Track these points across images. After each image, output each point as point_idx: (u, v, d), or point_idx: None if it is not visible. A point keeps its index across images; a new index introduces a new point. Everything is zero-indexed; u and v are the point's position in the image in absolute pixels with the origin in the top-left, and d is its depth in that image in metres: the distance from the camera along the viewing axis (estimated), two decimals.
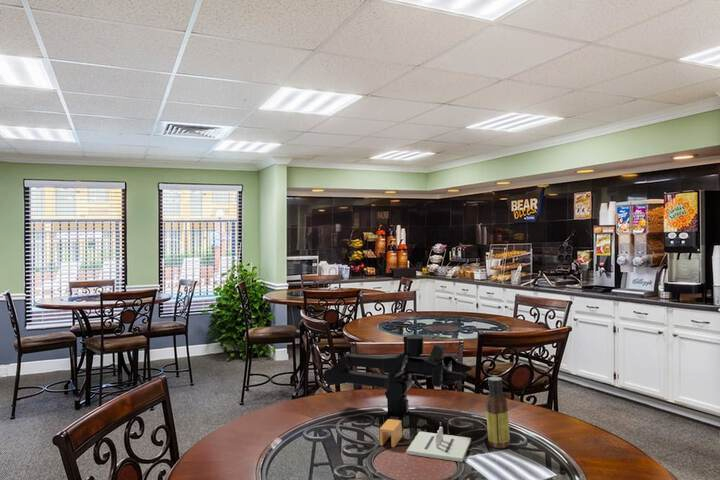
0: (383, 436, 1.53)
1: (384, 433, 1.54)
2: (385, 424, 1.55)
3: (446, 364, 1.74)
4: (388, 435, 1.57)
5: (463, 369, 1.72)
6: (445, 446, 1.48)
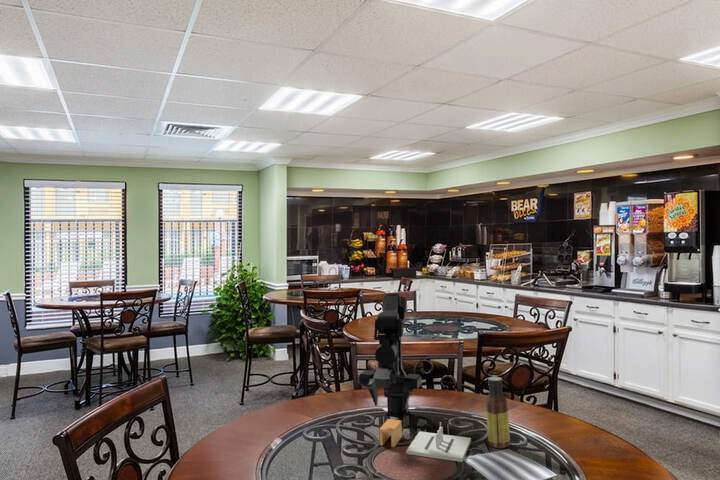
0: (383, 436, 1.53)
1: (384, 433, 1.54)
2: (385, 424, 1.55)
3: (402, 380, 1.52)
4: (388, 435, 1.57)
5: None
6: (445, 446, 1.48)
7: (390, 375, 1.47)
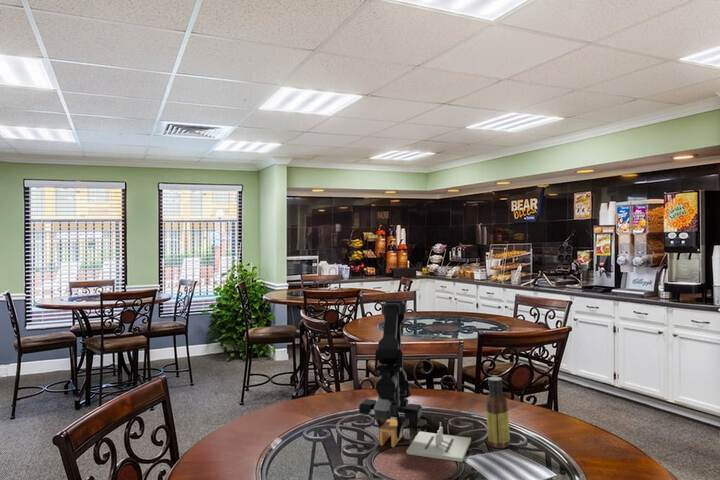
0: (383, 436, 1.53)
1: (384, 433, 1.54)
2: (385, 424, 1.55)
3: (403, 411, 1.53)
4: (388, 435, 1.57)
5: None
6: (445, 446, 1.48)
7: (391, 407, 1.47)
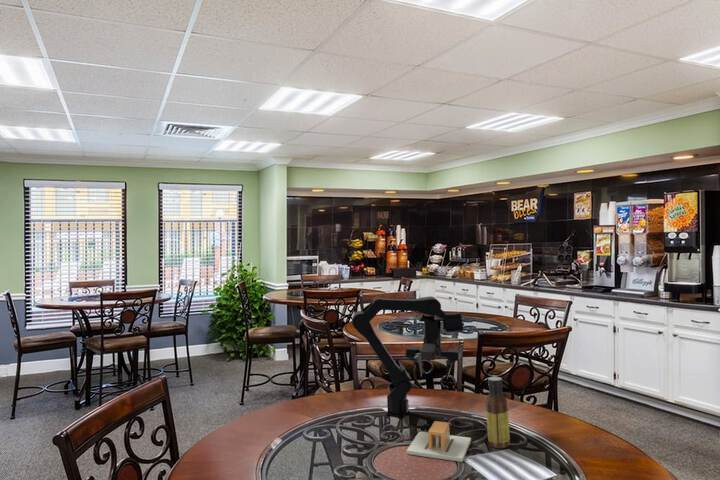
0: (432, 439, 1.47)
1: (432, 436, 1.48)
2: (433, 426, 1.50)
3: (445, 354, 1.75)
4: (435, 438, 1.51)
5: None
6: None
7: (435, 349, 1.69)
